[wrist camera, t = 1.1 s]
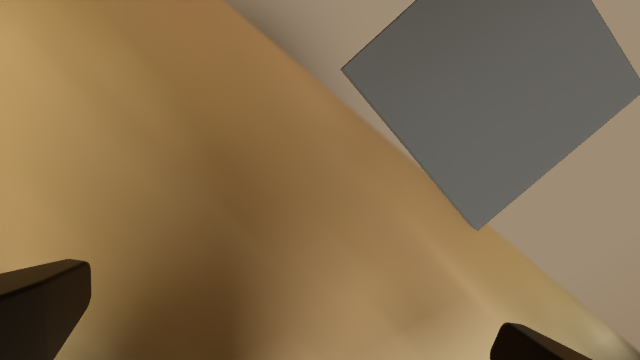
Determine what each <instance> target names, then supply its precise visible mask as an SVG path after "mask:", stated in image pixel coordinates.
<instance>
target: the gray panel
mask: <svg viewBox="0 0 640 360" xmlns="http://www.w3.org/2000/svg"><path fill="white" fill-rule="evenodd" d="M341 71H342V72H343V73H344V74H345V76H346V77H347V78H348V79H349V80H350V81H351V83H352V84H353V85H354V86H355V88H356V89H357V90H358V91H359V92H360V94H361V95H362V96H363V97H364V98H365V100H366V101H367V102H368V103H369V104H370V106H371V107H372V108H373V109H374V110H375V112H376V113H377V114H378V115H379V116H380V118H381V119H382V120H383V121H384V122H385V124H386V125H387V126H388V127H389V128H390V130H391V131H392V132H393V133H394V134H395V136H396V137H397V138H398V139H399V141H400V142H401V143H402V144H403V145H404V146H405V148H406V149H407V150H408V151H409V153H410V154H411V155H412V156H413V157H414V159H415V160H416V161H417V162H418V163H419V165H420V166H421V167H422V168H423V169H424V171H425V172H426V173H427V174H428V175H429V177H430V178H431V179H432V180H433V181H434V183H435V184H436V185H437V186H438V187H439V189H440V190H441V191H442V192H443V193H444V195H445V196H446V197H447V198H448V199H449V201H450V202H451V203H452V204H453V205H454V207H455V208H456V209H457V210H458V211H459V213H460V214H461V215H462V216H463V217H464V219H465V220H466V221H467V222H468V223H469V225H470V226H471V227H473V228H474V229H476V230H477V231H478V230H479V229H480V228H481V227H483V226H484V225H485V224H486V223H487V222H489V221H490V220H491V219H492V218H493V217H495V216H496V215H497V214H498V213H499V212H501V211H502V210H503V209H504V208H505V207H506V206H508V205H509V204H510V203H511V202H512V201H514V200H515V199H516V198H517V197H518V196H519V195H521V194H522V193H523V192H524V191H526V190H527V189H528V188H529V187H530V186H531V185H533V184H534V183H535V182H536V181H537V180H538V179H540V178H541V177H542V176H543V175H545V174H546V173H547V172H548V171H549V170H551V168H553V167H554V166H555V165H557V164H558V163H559V162H560V161H561V160H562V159H564V158H565V157H566V156H567V155H568V154H569V153H571V152H572V151H573V150H574V149H575V148H577V147H578V146H579V145H580V144H581V143H583V142H584V141H585V140H586V139H587V138H589V137H590V136H591V135H592V134H593V133H595V132H596V131H597V130H598V129H599V128H601V127H602V126H603V125H604V124H605V123H607V122H608V121H609V120H610V119H611V118H613V117H614V116H615V115H616V114H617V113H618V112H620V111H621V110H622V109H623V108H624V107H626V106H627V105H628V104H629V103H630V102H632V101H633V100H634V99H635V98H636V97H637V96H639V95H640V78H639V77H638V75H637V74H636V72H635V70H634V69H633V67H632V65H631V64H630V62H629V61H628V59H627V57H626V56H625V54H624V52H623V51H622V49H621V48H620V46H619V44H618V43H617V41H616V39H615V38H614V36H613V35H612V33H611V31H610V30H609V28H608V26H607V25H606V23H605V22H604V20H603V18H602V17H601V15H600V14H599V12H598V10H597V9H596V7H595V5H594V4H593V2H592V1H591V0H416V1H415V2H413V3H412V4H411V5H410V6H409V7H408V8H407V9H406V10H405V11H404V12H402V13H401V14H400V15H399V16H398V17H397V18H396V19H395V20H394V21H393V22H392V23H390V24H389V25H388V26H387V27H386V28H385V29H384V30H383V31H382V32H381V33H379V35H377V36H376V37H375V38H374V39H373V40H372V41H371V42H370V43H369V44H367V45H366V46H365V47H364V48H363V49H362V50H361V51H360V52H359V53H358V54H356V56H354V57H353V58H352V59H351V60H350V61H349V62H348V63H347V64H346V65H344V66H343V67H342V68H341Z"/></svg>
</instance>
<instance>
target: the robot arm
mask: <svg viewBox="0 0 640 360" xmlns="http://www.w3.org/2000/svg"><path fill="white" fill-rule="evenodd" d="M90 299H91V268H90V264H89V263H88V262H86V261H80V260H73V259H65V260H61V261H56V262H52V263H47V264H43V265H38V266H33V267H29V268H24V269H20V270H15V271H10V272H6V273H1V274H0V360H53V359H54V358H55V357H56V355H57V353H58V352H59V350H60V349H61V347H62V346H63V344H64V343H65V341H66V340H67V338H68V337H69V335H70V334H71V332H72V331H73V329H74V327H75V326H76V324H77V323H78V321H79V320H80V318H81V317H82V315H83V314H84V312H85V311H86V309H87V307H88V305H89V303H90ZM490 360H592V359H590V358H588V357H586V356H584V355H582V354H580V353H578V352H576V351H574V350H572V349H570V348H568V347H566V346H564V345H562V344H560V343H558V342H556V341H554V340H552V339H550V338H548V337H546V336H544V335H542V334H540V333H538V332H536V331H534V330H532V329H530V328H528V327H526V326H524V325H521V324H515V323H504V324H503V325H502V326H501V328H500V330H499V332H498V335H497V337H496V339H495V341H494V344H493V346H492V348H491V352H490Z"/></svg>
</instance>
